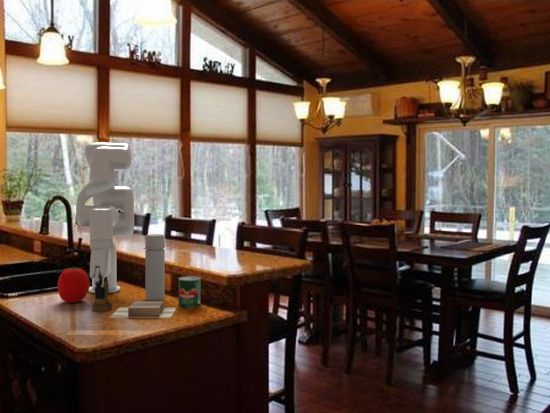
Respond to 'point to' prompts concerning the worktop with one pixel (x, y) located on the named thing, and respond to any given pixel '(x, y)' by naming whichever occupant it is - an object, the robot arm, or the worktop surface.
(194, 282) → the canned tomato
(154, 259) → the water bottle
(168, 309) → the birch board
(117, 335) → the worktop surface
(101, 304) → the brown wooden pepper mill
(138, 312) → the walnut base block
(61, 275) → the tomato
